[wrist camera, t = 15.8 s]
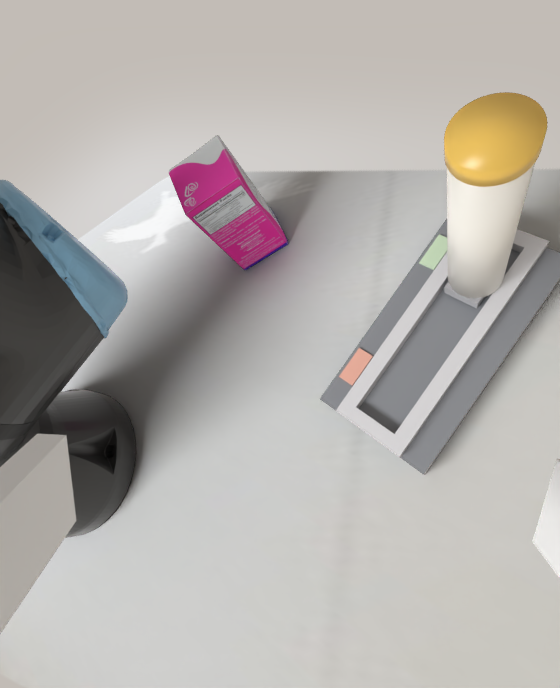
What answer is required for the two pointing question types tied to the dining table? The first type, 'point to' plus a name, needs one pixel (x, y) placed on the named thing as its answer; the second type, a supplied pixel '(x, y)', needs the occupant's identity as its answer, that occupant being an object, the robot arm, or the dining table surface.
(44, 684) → the dining table surface
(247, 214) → the supplement box
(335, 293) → the dining table surface
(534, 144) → the switch handle
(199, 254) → the dining table surface
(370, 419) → the switch panel
